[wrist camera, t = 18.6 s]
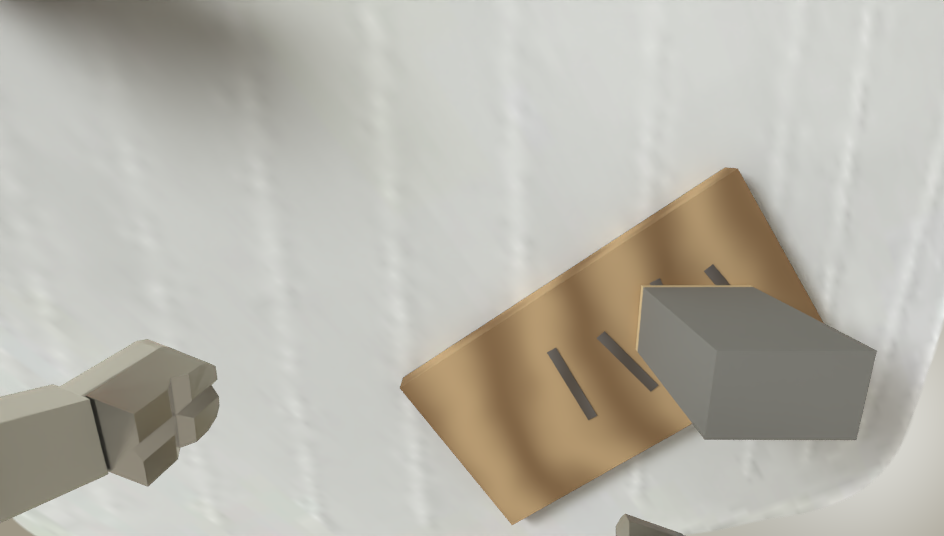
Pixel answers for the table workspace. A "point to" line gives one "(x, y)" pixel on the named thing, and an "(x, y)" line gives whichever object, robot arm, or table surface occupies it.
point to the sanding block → (752, 364)
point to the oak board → (591, 352)
